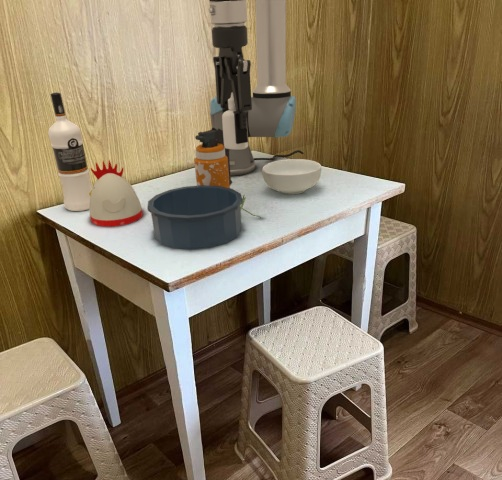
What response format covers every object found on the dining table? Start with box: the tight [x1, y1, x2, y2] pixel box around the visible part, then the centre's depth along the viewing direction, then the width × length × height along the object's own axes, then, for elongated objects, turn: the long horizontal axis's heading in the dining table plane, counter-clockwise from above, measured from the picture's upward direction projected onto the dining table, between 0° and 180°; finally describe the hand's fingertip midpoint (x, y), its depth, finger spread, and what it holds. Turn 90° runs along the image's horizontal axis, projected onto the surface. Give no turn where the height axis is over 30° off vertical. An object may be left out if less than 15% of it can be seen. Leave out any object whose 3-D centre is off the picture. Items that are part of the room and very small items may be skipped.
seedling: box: [240, 194, 262, 219], centre depth 134 cm, size 7×8×7 cm
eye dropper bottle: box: [222, 92, 248, 150], centre depth 119 cm, size 4×6×12 cm
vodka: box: [47, 92, 93, 212], centre depth 141 cm, size 9×9×30 cm
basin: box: [147, 185, 243, 250], centre depth 127 cm, size 23×23×8 cm
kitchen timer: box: [88, 159, 144, 227], centre depth 136 cm, size 14×14×15 cm
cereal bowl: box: [261, 158, 322, 195], centre depth 151 cm, size 17×17×7 cm
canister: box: [193, 127, 233, 188], centre depth 140 cm, size 9×11×20 cm
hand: (235, 140), depth 121 cm, fingers closed on eye dropper bottle, 5 cm apart
